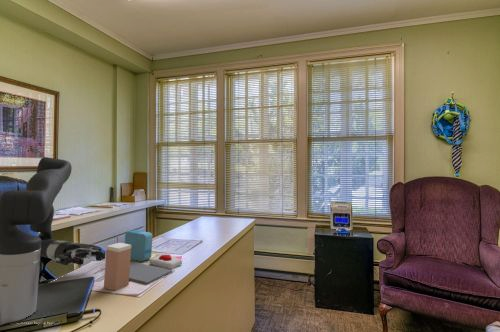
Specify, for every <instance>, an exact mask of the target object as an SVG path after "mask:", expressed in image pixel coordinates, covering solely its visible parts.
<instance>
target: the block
mask: <svg viewBox="0 0 500 332" xmlns="http://www.w3.org/2000/svg"><path fill="white" fill-rule="evenodd" d="M105 249H106V250H105V251H106V252H105V263H104V265H105V266H104V267H105V268H104V281H103V288H105V289H107V290H111V291H114V292H115V291H118V290H121V289H123V288H125V287H128V286H129V285H130V280H129V273H130V263H131V260H132V259H131V245H130V244H125V242H117V243H113V244H109V245H106V247H105Z"/></svg>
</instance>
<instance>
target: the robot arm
mask: <svg viewBox="0 0 500 332" xmlns="http://www.w3.org/2000/svg"><path fill="white" fill-rule="evenodd" d="M71 174H72V164H71V162H70V161H68V160H64V159H60V158H55V157H54V158H53V157H49V156H48V157H47V156H43V157H42V158H41V159H40V160H39V162H38V165H37V167H36V173H35V174H33V175H32V176H31V177H30V179H28V181H27V183H26V186H25V190H17V189H16V190H13V189H12V190H5V191H4V192H2V194H1V195H0V326H2V325H4V324H8V323H14V322H19V321H22V320H24V319H27V318H28V316H29V317H30V315H31V316H32V315H34V314H35V313H36V311H37V305H38V304H37V303H38V293H39V292H38V291H39V290H38V289H39V279H40V277H39V276H40V268H41V267H40V264H41V257H44V258H47V259H51V260H53V261H55V263H57V264H60V265H63V266H68V265H78V266H79V265H80V266H83V265H84V264H85V263H84V262H85V260H86V259H91V258H99V259H105V258H106V252H104V251H102V248H100V247H95V246H89V247H88V248H84V247H81V246H80V245H79V244H78V243H76V242H71V241H67V240H59V239H53V233H52V231H53V230H52V224H53V220H54V216H55V208H54V205H53V204H54V202H55V199H56V197H57V196H58V195H59V193H60V192H61V190H62V188H63V185H64V184H65V183H66V182H67V181H68V180H69V178H70V176H71ZM26 225H29V230H30V231H31V232H34V233H39V235H34V234H30V233H26V232H24V231H23V230H21V229H19V228H18V227H17V226H26ZM34 312H35V313H34ZM33 313H34V314H33ZM26 317H27V318H26Z"/></svg>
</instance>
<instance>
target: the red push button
mask: <svg viewBox="0 0 500 332" xmlns="http://www.w3.org/2000/svg"><path fill="white" fill-rule="evenodd" d="M149 265H151V266H155V267H160V268H164V269H169V270H173V269H175V268H177V266H178V267H179V265H180V266H182V265H183V260H182V259H180V258H177V257H176V256H174V255H170V254H161V255H159V256H156V257H151V258H150V259H149ZM172 268H173V269H172Z"/></svg>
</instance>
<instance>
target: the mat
mask: <svg viewBox="0 0 500 332" xmlns="http://www.w3.org/2000/svg"><path fill="white" fill-rule="evenodd" d="M171 272H172V273H173V269H166V268H162V267H158V266H154V265H151V264H145V263H143V262H142V263H141V262H137V261H132V262H130V273H129V281H130V282H131V281H132V282H136V283H140V284H143V285H147V284H148V285H149V283H150V284H151V282H152V283H154V282H155V280H156V281H158V280H160V279H162V278H163V277H162V276H164V277H166V276H168V275H170V274H172V273H171ZM169 273H170V274H169ZM167 274H168V275H167ZM165 275H166V276H165ZM161 277H162V278H161ZM159 278H160V279H159ZM157 279H158V280H157ZM153 281H154V282H153Z"/></svg>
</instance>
